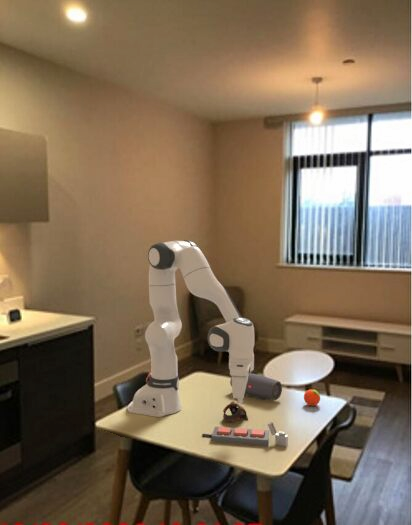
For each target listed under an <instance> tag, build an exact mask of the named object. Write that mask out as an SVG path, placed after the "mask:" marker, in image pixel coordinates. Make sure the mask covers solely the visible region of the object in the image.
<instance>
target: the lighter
mask: <svg viewBox="0 0 412 525" xmlns="http://www.w3.org/2000/svg"><path fill="white" fill-rule="evenodd" d="M267 426H268V427H267V428H269V433H270V434H271V436H275V437H274V438H275V441H274V442H275V445H277V446H281V447H288V445H289V435H288V434H286V433H285V431H281V430H279V431H278V432H277V430H276V427H275V425H274V422H273V421H271V422H268V423H267Z"/></svg>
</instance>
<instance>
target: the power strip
mask: <svg viewBox="0 0 412 525" xmlns="http://www.w3.org/2000/svg"><path fill="white" fill-rule="evenodd" d="M219 427H220V426H214V428H213V431H212V433H202V435H201V437H205V438H211V442H212V443H220V444H221V443H223V444H233V445H234V444H235V445H246V446H247V445H251V446H262V447H269V444H270V443H269V442H270V429H269V430H267V429H265V430H264V429H263V430H264V437H251V431H252V429H253V430H256V429H254V428H246V429H247V436H237V435H234V431H235V428H236V427H230V428H231V435H224V434H218V428H219ZM224 427H225V428H229V427H226V426H224ZM237 428H238V429H243V428H241V427H240V428H239V427H237Z"/></svg>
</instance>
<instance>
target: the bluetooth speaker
mask: <svg viewBox="0 0 412 525" xmlns="http://www.w3.org/2000/svg"><path fill="white" fill-rule="evenodd" d="M230 386H231V387H230V388H232V376H231V377H230ZM282 392H283V386H282V383H281V381H279V380H276V379H273V378H271V377H268V376H263V375H259V374H256V373H252V372H250V374H249V376H248V381H247V385H246V390H245V394H244V396H248V397H251V398H255V399H258V400H263V401H264V400H266V399H267V400H271V401H277V400H278V399H280V397H281V395H282Z"/></svg>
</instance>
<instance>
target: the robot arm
mask: <svg viewBox="0 0 412 525" xmlns="http://www.w3.org/2000/svg"><path fill="white" fill-rule="evenodd" d="M147 260H148V262H149V270H148V296H149V297H148V299H149V305H150V306H151V310H152V312H153V316H154V321H152V322H150V324H149V325H148V326H147V328H146V330H145V332H144V339H145V342H146V343H147V344H148V345H147V346H148V350H149V353H150V354H149V355H150V373H148V374H147V377H146V378H145V382H146V384H145V385H143V386H142V387H141V388H139V389H138V390H137V391H135V393H134V396H133V398H132V401H131V402H130V403H129V404H128V405H127V412H128V413H131V414H137V415H138V414H139V415H145V416H151V417H157V418H161V417H164V416H167V415H172V414H176V413H178V412H179V411H181V410H182V405H181V400H180V395H179V388H180V379H179V374H178V368H179V367H178V355H177V353H176V348H175V339H176V338H177V337H179V336H180V333H181V331H182V327H183V325H182V324H183V323H182V321H181V320H182V319H181V317H180V313H179V310H178V303H177V291H176V290H177V289H176V287H177V286H176V271H177V270H178V269H179V270H180V273H181V275H182V278H183V281H184V283H185V285H186V287H187V290H188V291H189V292H190V293H191V294H192V295H193V296H195V297H198V298H201V299H205V300H207V301H210V302H212V303H214V304H215V305H216V306H217V308H218V309H219V312H220V313H221V315H222V316H223V318H224V320H225V322H224V323H222V324H220V323H219V324H218V325H214V326H212V327H210V329H209V330H208V333H207V343H208V344H209V347H210V348H211V349H212V350H213V351H215V352H228V353H229V355H228V369H229V376H231V377H232V387H231V391H232V396H233V399H237V404H243V402H244V397H245V390H246V385H247V381H248V376H249V374H250V373H252V372H253V371H254V368H255V354H254V347H255V327H254V323H253V321H251V320H250V319H248V318H245V317H243V316H242V315H241V313H240V312H239V309H238V308H237V307H236V304H235V303H234V301H233V299H232V297H231V296H230V294H229V293H228V290H227V289H226V288H225V287H224V285H223V284H222V283H220V281H218V279H217V277H216V275H215V274H214V272H213V270H212V268H211V266H210V263H209V261H208V260H207V258H206V257H205V255H204V253H203V252H202V250H201V249H200V248H199V247H198V245H197V244H196V243H195V242H193V241H191V240H185V239H184V240H171V241H165V242H158V243H155V244H153V245H151V246H150V248H149V249H148V252H147Z"/></svg>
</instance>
